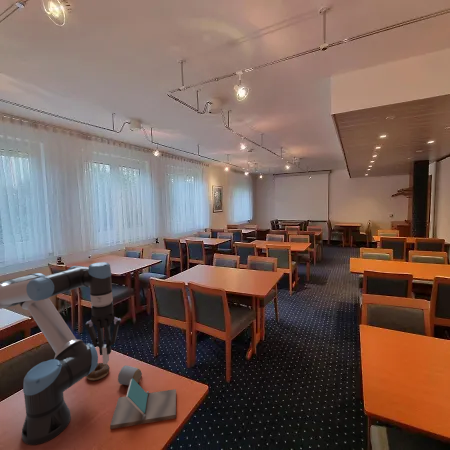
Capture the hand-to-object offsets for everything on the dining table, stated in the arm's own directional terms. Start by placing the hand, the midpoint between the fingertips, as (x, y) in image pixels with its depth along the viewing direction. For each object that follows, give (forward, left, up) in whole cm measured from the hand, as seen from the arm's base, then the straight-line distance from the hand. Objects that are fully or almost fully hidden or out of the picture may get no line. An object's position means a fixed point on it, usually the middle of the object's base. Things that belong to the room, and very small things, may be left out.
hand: (106, 361), depth 101 cm
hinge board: (+14, 0, -22) cm, 26 cm away
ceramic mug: (+5, +19, -23) cm, 30 cm away
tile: (+11, 0, -16) cm, 19 cm away
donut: (-12, +27, -23) cm, 37 cm away
